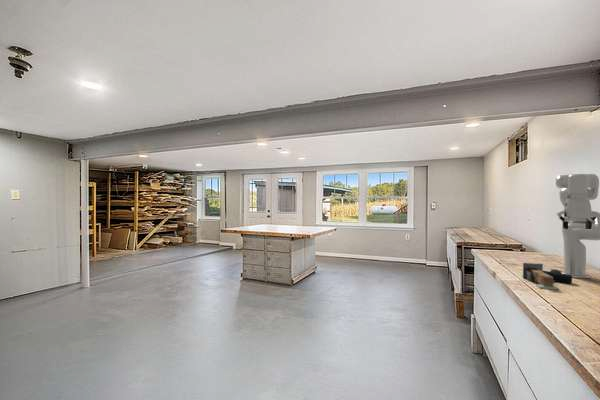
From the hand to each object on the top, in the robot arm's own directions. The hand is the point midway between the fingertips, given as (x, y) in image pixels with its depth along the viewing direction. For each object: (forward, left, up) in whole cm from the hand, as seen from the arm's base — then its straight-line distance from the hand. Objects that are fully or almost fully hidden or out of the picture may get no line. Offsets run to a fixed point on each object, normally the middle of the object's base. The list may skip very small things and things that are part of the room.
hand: (576, 229), depth 151 cm
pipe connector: (-10, -5, -31) cm, 33 cm away
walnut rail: (+3, -17, -29) cm, 34 cm away
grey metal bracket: (-4, -17, -30) cm, 35 cm away
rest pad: (+10, -17, -30) cm, 36 cm away
